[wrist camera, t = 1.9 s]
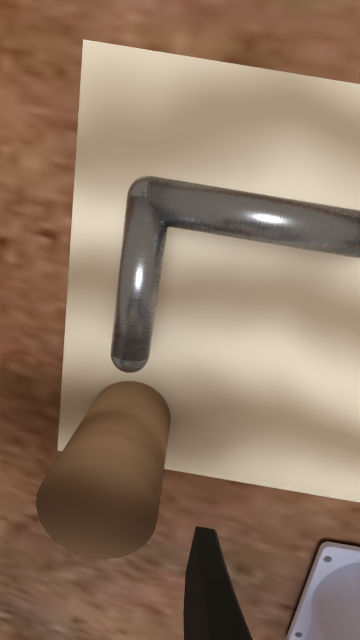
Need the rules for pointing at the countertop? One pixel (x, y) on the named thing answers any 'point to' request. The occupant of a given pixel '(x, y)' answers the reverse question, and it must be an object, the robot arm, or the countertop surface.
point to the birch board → (222, 267)
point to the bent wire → (214, 218)
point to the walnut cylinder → (109, 474)
